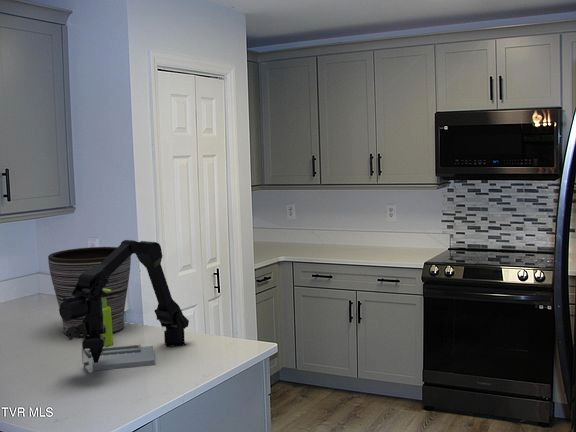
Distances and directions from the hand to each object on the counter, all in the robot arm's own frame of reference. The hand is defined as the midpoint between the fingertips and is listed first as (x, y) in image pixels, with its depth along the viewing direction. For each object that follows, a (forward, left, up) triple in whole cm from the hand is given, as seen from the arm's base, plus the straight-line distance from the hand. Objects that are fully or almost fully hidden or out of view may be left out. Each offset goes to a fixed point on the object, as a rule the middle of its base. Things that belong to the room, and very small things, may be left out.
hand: (96, 362), depth 207 cm
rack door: (+3, -1, -2) cm, 4 cm away
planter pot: (+3, -52, -4) cm, 53 cm away
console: (-7, -11, -4) cm, 14 cm away
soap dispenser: (-2, -31, -4) cm, 32 cm away
